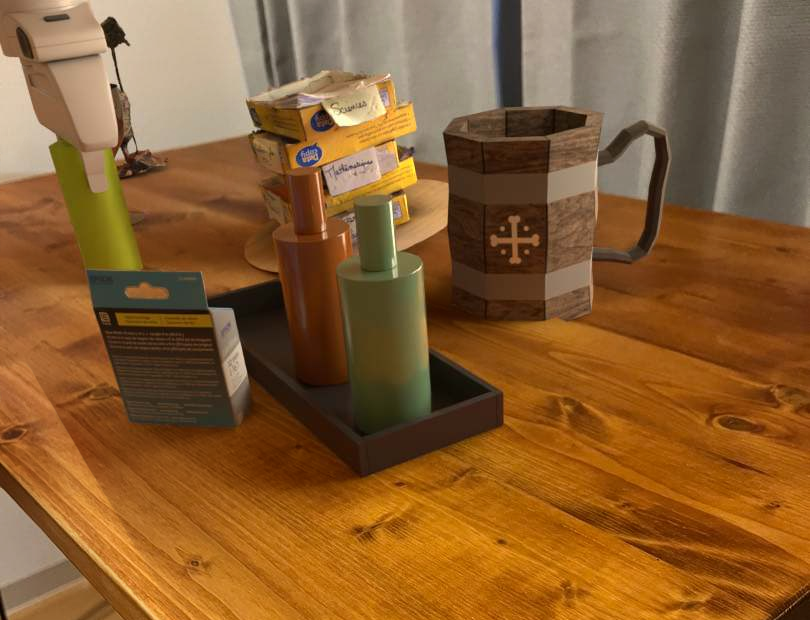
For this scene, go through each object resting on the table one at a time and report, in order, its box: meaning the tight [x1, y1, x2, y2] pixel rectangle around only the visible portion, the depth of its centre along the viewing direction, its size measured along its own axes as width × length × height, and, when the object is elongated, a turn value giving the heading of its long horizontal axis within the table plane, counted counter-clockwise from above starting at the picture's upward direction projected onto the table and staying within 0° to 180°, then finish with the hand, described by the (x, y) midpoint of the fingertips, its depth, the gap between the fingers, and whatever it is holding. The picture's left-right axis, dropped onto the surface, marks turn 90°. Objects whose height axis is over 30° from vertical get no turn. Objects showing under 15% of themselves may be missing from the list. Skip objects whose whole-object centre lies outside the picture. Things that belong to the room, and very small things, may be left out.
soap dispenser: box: [48, 137, 144, 270], centre depth 89 cm, size 6×7×20 cm
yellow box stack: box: [243, 68, 449, 273], centre depth 93 cm, size 25×25×17 cm
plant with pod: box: [99, 15, 169, 178], centre depth 126 cm, size 8×11×20 cm
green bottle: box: [335, 195, 432, 435], centre depth 58 cm, size 6×6×15 cm
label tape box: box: [84, 268, 255, 429], centre depth 62 cm, size 9×4×12 cm, turn 77°
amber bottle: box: [272, 166, 353, 386], centre depth 65 cm, size 6×6×15 cm
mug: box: [442, 104, 673, 323], centre depth 76 cm, size 20×14×15 cm
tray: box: [206, 277, 505, 479], centre depth 69 cm, size 11×31×3 cm, turn 31°
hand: (90, 183), depth 90 cm, fingers closed on soap dispenser, 6 cm apart
